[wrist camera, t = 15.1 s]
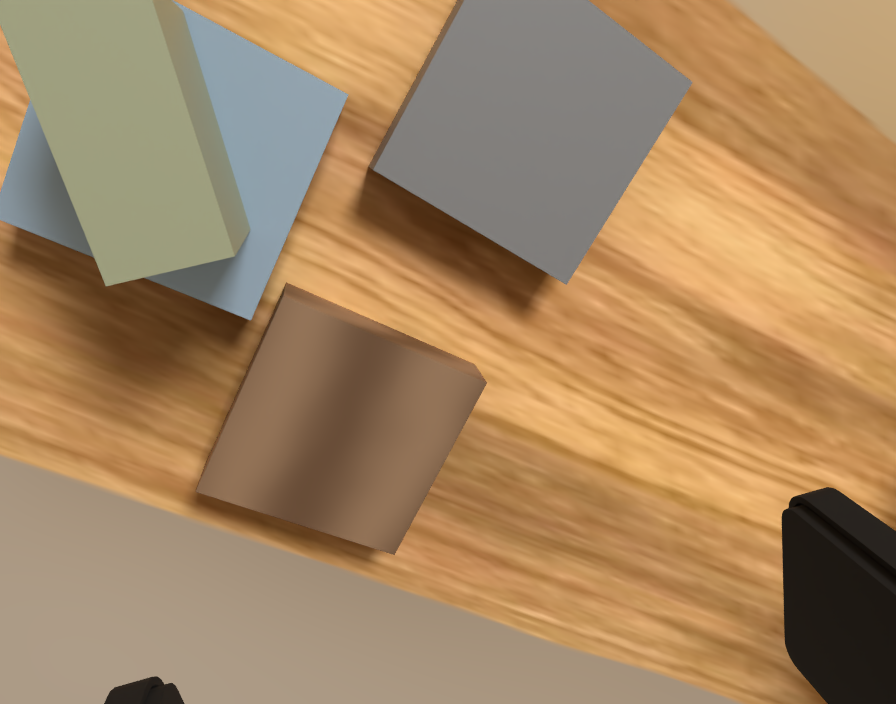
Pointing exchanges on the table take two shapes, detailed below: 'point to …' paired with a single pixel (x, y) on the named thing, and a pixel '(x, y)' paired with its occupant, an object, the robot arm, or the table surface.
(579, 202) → the charcoal block
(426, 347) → the walnut block
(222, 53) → the slate-blue block
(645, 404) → the table surface
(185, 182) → the olive brick
